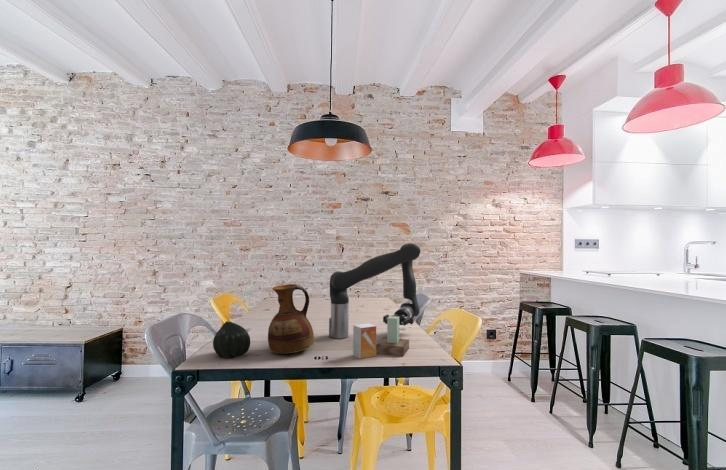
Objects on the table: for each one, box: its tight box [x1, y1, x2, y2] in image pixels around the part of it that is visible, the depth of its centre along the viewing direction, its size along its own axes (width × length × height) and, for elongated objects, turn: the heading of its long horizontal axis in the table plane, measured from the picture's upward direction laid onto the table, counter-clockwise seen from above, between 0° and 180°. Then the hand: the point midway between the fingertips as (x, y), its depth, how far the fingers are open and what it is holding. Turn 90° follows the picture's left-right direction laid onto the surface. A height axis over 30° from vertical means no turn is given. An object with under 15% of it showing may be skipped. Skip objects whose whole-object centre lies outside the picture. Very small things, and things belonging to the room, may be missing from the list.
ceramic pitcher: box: [267, 283, 315, 355], centre depth 164 cm, size 20×20×30 cm
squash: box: [212, 320, 251, 359], centre depth 158 cm, size 14×15×15 cm
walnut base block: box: [376, 336, 410, 357], centre depth 165 cm, size 12×12×4 cm
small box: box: [352, 323, 377, 360], centre depth 158 cm, size 8×6×13 cm
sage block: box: [386, 315, 400, 344], centre depth 166 cm, size 4×4×11 cm
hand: (395, 322), depth 169 cm, fingers open, 8 cm apart
